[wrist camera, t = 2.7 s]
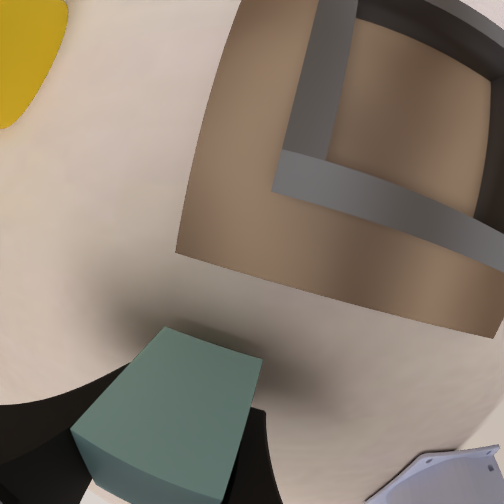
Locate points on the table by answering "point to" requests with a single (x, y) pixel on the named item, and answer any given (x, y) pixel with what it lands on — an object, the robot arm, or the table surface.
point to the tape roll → (27, 51)
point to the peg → (170, 422)
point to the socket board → (358, 157)
